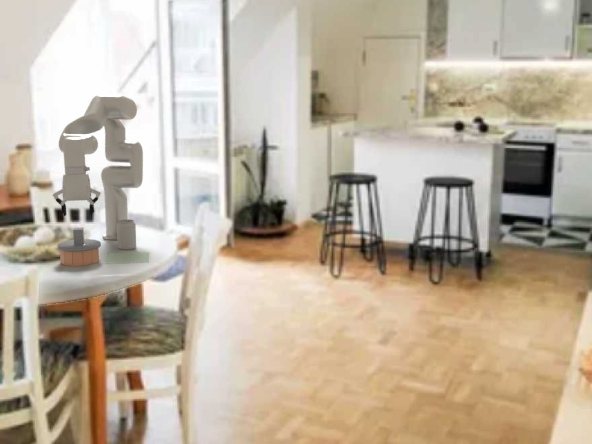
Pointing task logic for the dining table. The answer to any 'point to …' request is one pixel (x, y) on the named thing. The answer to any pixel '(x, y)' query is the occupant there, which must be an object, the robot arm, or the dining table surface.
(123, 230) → the can
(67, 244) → the lid
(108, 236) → the robot arm
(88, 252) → the bowl
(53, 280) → the dining table surface
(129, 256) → the mat
